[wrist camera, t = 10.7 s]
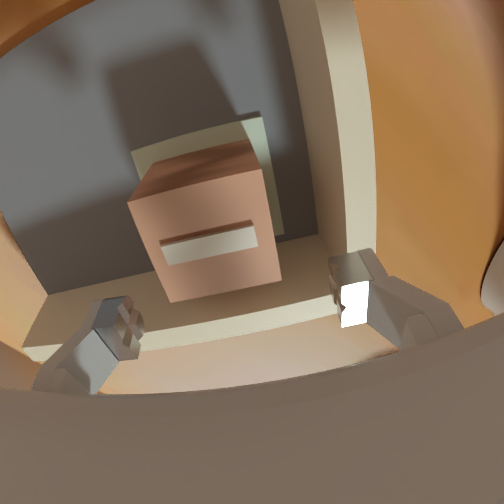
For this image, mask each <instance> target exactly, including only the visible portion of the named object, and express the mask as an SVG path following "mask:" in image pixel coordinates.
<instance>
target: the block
mask: <svg viewBox="0 0 504 504" xmlns="http://www.w3.org/2000/svg"><path fill="white" fill-rule="evenodd" d="M127 204H128V206H129V209H130V211H131V214H132V217H133V219H134V221H135V224H136V226H137V229H138V231H139V234H140V236H141V238H142V241H143V243H144V246H145V248H146V250H147V252H148V255H149V257H150V259H151V262H152V264H153V266H154V268H155V271H156V273H157V275H158V277H159V279H160V281H161V284H162V286H163V288H164V290H165V292H166V294H167V296H168V298H169V301H170V303H172V302H178V301H183V300H188V299H193V298H199V297H204V296H209V295H214V294H219V293H224V292H229V291H234V290H239V289H243V288H248V287H253V286H258V285H263V284H267V283H272V282H277V281H281V280H282V277H281V272H280V266H279V260H278V254H277V249H276V243H275V238H274V232H273V227H272V221H271V216H270V210H269V205H268V200H267V194H266V189H265V184H264V179H263V173H262V169H261V166H260V164H259V161H258V159H257V156H256V154H255V152H254V149H253V147H252V144H251V142H250V139H246V140H241V141H237V142H232V143H227V144H223V145H219V146H215V147H210V148H206V149H202V150H198V151H194V152H190V153H187V154H183V155H179V156H175V157H172V158H168V159H165V160H161V161H158V162H154V163H153V164H152V165H151V167H150V168H149V170H148V171H147V173H146V174H145V175H144V177H143V178H142V180H141V181H140V183H139V185H138V186H137V188H136V189H135V191H134V192H133V194H132V195H131V197H130V198H129V200H128V202H127Z"/></svg>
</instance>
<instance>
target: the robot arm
mask: <svg viewBox="0 0 504 504" xmlns="http://www.w3.org/2000/svg"><path fill="white" fill-rule="evenodd" d="M328 268H329V271H330V273H331V275H330V276H329V286H330V292H331V296H332V299H333V302H334V304H336V305H337V313H338V316H339V319H340V322H341V325H342V327H345V326H349V325H354V324H359V323H363V322H366V323H367V324H368V325H370V326H371V327H372V328H373V329H375V330H376V331H377V332H379V333H380V334H381V335H382V336H384V337H385V338H386V339H388V340H389V341H390V342H391V343H393V344H394V345H395V346H397V347H398V348H399V352H396V353H393V354H389V355H386V356H382V357H379V358H375V359H372V360H368V361H364V362H360V363H356V364H353V365H348V366H344V367H340V368H336V369H332V370H327V371H323V372H318V373H313V374H308V375H303V376H298V377H293V378H287V379H282V380H276V381H270V382H264V383H257V384H250V385H243V386H236V387H228V388H219V389H209V390H199V391H187V392H173V393H154V394H96V393H97V392H98V390H99V389H100V388H101V386H102V385H103V383H104V382H105V381H106V379H107V378H108V377H109V375H110V374H111V372H112V371H113V370H114V368H115V367H116V366H117V364H118V363H119V361H124V360H133V359H138V356H139V351H140V347H141V344H140V342H139V340H140V339H141V338H142V336H143V334H144V330H145V329H144V321H143V318H142V315H141V314H140V312H139V311H137V310H136V309H134V308H133V306H134V302H133V300H132V299H131V297H130V296H127V295H126V296H119V297H112V298H105V299H100V300H95V301H93V302H92V304H91V306H90V308H89V311H88V313H87V315H86V318H85V320H84V322H83V325H82V327H81V329H80V331H77V332H75V333H74V334H73V335H72V336H71V337H70V338H69V339H68V340H67V341H66V342H65V343H64V344H63V345H62V346H61V347H60V348H59V349H58V350H57V351H56V352H55V353H54V354H53V355H52V356H51V357H50V358H49V359H48V360H47V361H46V362H44V363H43V364H42V365H41V366H40V368H39V370H38V373H37V375H36V378H35V381H34V383H33V386H32V389H31V390H24V389H16V388H8V387H1V386H0V504H504V241H503V242H502V244H501V246H500V247H499V249H498V251H497V252H496V254H495V256H494V258H493V260H492V262H491V264H490V266H489V268H488V270H487V273H486V276H485V278H484V282H483V286H482V291H481V300H482V303H483V305H484V306H485V307H486V308H487V309H489V310H490V311H492V312H493V313H494V317H492V318H490V319H487V320H485V321H483V322H480V323H478V324H475V325H473V326H470V327H468V328H465V329H464V327H463V326H462V324H461V322H460V321H459V319H458V318H457V316H456V314H455V313H454V311H453V310H452V308H451V307H450V305H449V304H448V303H446V302H445V301H443V300H441V299H439V298H437V297H435V296H433V295H431V294H429V293H427V292H425V291H423V290H421V289H419V288H417V287H415V286H413V285H411V284H409V283H407V282H405V281H403V280H401V279H399V278H397V277H395V276H388V274H387V272H386V271H385V269H384V267H383V266H382V264H381V263H380V261H379V259H378V258H377V256H376V255H375V253H374V251H373V250H372V249H371V248H366V249H362V250H357V251H355V252H350V253H346V254H341V255H337V256H332V257H328Z"/></svg>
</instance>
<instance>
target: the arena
mask: <svg viewBox="0 0 504 504" xmlns="http://www.w3.org/2000/svg"><path fill="white" fill-rule="evenodd" d="M246 139H250V142H251V144H252V147H253V149H254V152H255V154H256V156H257V159H258V161H259V164H260V166H261V169H262V173H263V179H264V184H265V189H266V194H267V200H268V205H269V210H270V216H271V221H272V227H273V232H274V238H275V243H276V249H277V254H278V260H279V266H280V272H281V277H282V280H281V281H277V282H272V283H267V284H263V285H258V286H253V287H248V288H243V289H239V290H234V291H229V292H224V293H219V294H214V295H209V296H204V297H199V298H193V299H188V300H183V301H178V302H172V303H170V301H169V298H168V296H167V294H166V292H165V290H164V288H163V286H162V284H161V281H160V279H159V277H158V275H157V273H156V271H155V268H154V266H153V264H152V262H151V259H150V257H149V255H148V252H147V250H146V248H145V246H144V243H143V241H142V238H141V236H140V234H139V231H138V229H137V226H136V224H135V221H134V219H133V217H132V214H131V211H130V209H129V206H128V204H127V202H128V200H129V198H130V197H131V195H132V194H133V192H134V191H135V189H136V188H137V186H138V185H139V183H140V181H141V180H142V178H143V177H144V175H145V174H146V173H147V171H148V170H149V168H150V167H151V165H152V164H153V163H154V162H158V161H161V160H165V159H168V158H172V157H175V156H179V155H183V154H187V153H190V152H194V151H198V150H202V149H206V148H210V147H215V146H219V145H223V144H227V143H232V142H237V141H241V140H246ZM0 210H1V212H2V214H3V217H4V219H5V221H6V223H7V225H8V227H9V229H10V231H11V233H12V234H13V236H14V238H15V240H16V242H17V244H18V246H19V248H20V249H21V251H22V253H23V255H24V256H25V258H26V260H27V262H28V263H29V265H30V267H31V268H32V270H33V272H34V273H35V275H36V277H37V278H38V280H39V281H40V283H41V285H42V286H43V288H44V289H45V291H46V292H47V294H48V296H47V298H46V300H45V302H44V304H43V306H42V307H41V309H40V311H39V313H38V315H37V317H36V319H35V321H34V323H33V325H32V327H31V329H30V331H29V333H28V335H27V337H26V339H25V341H24V343H23V346H22V349H23V350H24V351H25V352H26V354H27V355H28V356H29V357H30V358H31V359H32V360H33V361H47V360H48V359H49V358H50V357H51V356H52V355H53V354H54V353H55V352H56V351H57V350H58V349H59V348H60V347H61V346H62V345H63V344H64V343H65V342H66V341H67V340H68V339H69V338H70V337H71V336H72V335H73V334H74V333H75V332H77V331H80V329H81V327H82V325H83V322H84V320H85V318H86V315H87V313H88V311H89V308H90V306H91V304H92V302H93V301H95V300H100V299H105V298H112V297H119V296H126V295H127V296H130V297H131V299H132V300H133V302H134V306H133V308H134V309H136V310H137V311H139V312H140V314H141V315H142V318H143V321H144V329H145V330H144V334H143V336H142V338H141V339H140V340H139V342H140V344H141V347H140V351H139V352H141V351H149V350H156V349H163V348H170V347H176V346H183V345H189V344H195V343H201V342H207V341H212V340H218V339H223V338H229V337H234V336H239V335H244V334H249V333H254V332H259V331H264V330H268V329H273V328H278V327H282V326H286V325H291V324H295V323H299V322H304V321H308V320H312V319H316V318H320V317H324V316H328V315H332V314H336V313H337V305H336V304H334V302H333V299H332V296H331V292H330V286H329V276H330V275H331V273H330V271H329V268H328V257H332V256H337V255H341V254H346V253H350V252H355V251H357V250H362V249H366V248H371V249H372V250H373V251H374V253H375V254H376V173H375V153H374V138H373V125H372V114H371V105H370V96H369V88H368V80H367V73H366V66H365V60H364V54H363V48H362V42H361V37H360V31H359V26H358V21H357V17H356V12H355V8H354V3H353V0H95V1H93V2H91V3H89V4H87V5H85V6H83V7H81V8H79V9H77V10H75V11H73V12H71V13H69V14H67V15H66V16H64V17H62V18H60V19H58V20H57V21H55V22H53V23H51V24H50V25H48V26H46V27H45V28H43V29H42V30H40V31H38V32H37V33H35V34H34V35H32V36H31V37H29V38H28V39H26V40H25V41H23V42H22V43H20V44H19V45H17V46H16V47H15V48H13V49H12V50H10V51H9V52H8V53H6V54H5V55H4V56H2V57H1V58H0Z"/></svg>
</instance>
